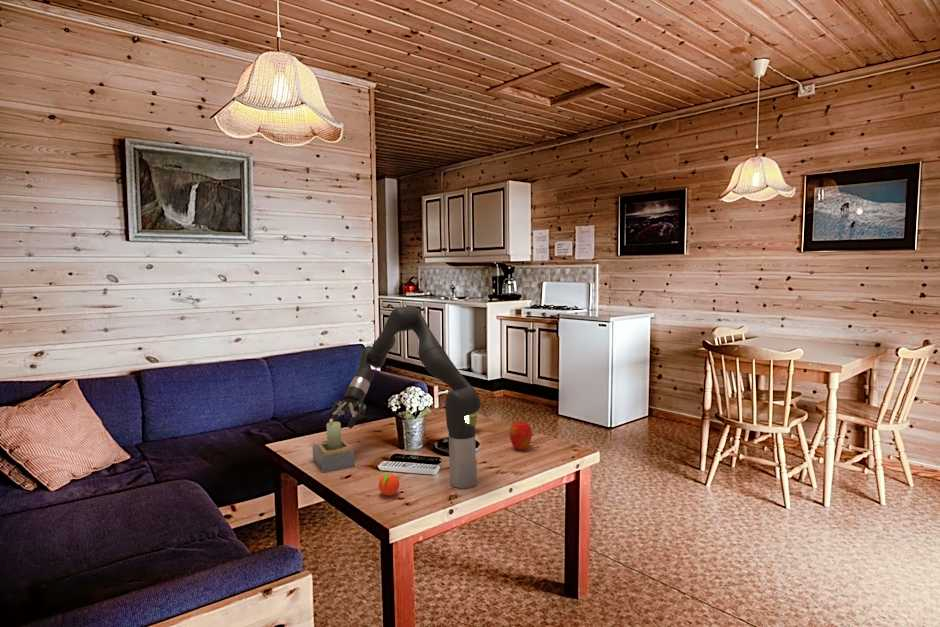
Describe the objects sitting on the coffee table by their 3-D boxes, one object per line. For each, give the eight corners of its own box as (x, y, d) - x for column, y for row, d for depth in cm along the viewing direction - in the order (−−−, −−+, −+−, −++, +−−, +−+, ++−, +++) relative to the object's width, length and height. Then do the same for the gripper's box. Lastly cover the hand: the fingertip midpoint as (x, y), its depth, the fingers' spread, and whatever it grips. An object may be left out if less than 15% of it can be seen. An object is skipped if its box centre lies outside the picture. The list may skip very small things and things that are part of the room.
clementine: (393, 501, 186) (392, 480, 185) (374, 499, 187) (373, 478, 187) (402, 491, 193) (402, 471, 192) (384, 489, 195) (383, 469, 194)
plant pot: (464, 428, 261) (464, 409, 260) (482, 431, 256) (482, 412, 255) (453, 433, 253) (453, 414, 252) (471, 437, 248) (471, 417, 247)
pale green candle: (333, 445, 222) (332, 415, 221) (344, 447, 220) (343, 417, 218) (324, 450, 217) (323, 419, 216) (335, 452, 215) (334, 421, 214)
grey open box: (354, 466, 216) (354, 447, 216) (323, 472, 211) (322, 453, 210) (342, 453, 230) (342, 435, 230) (313, 459, 225) (312, 440, 224)
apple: (508, 445, 237) (508, 417, 235) (530, 445, 237) (530, 416, 235) (510, 453, 227) (510, 423, 226) (533, 452, 227) (532, 423, 226)
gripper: (338, 383, 231) (321, 419, 222) (367, 387, 225) (350, 423, 216) (347, 393, 236) (330, 428, 227) (376, 397, 230) (359, 433, 221)
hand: (340, 426), depth 221 cm, fingers open, 8 cm apart
